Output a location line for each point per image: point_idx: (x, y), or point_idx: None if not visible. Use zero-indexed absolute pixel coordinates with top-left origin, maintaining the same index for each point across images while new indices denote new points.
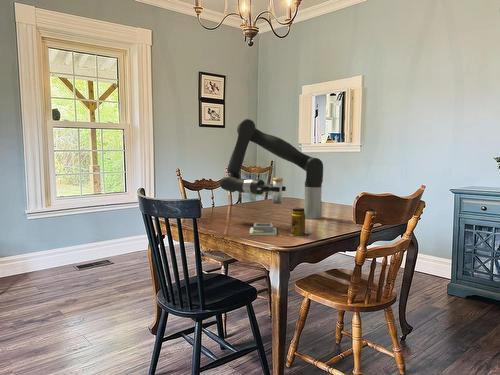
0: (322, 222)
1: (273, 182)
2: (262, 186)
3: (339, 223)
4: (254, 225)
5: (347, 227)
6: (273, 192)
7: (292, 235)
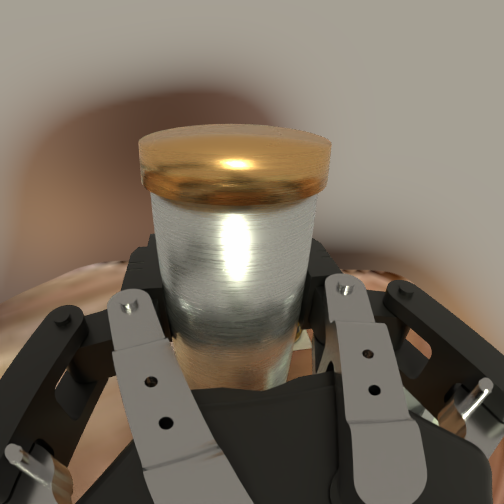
0: (3, 368)
1: (313, 219)
2: (476, 335)
3: (7, 322)
4: (430, 415)
5: (60, 289)
6: (293, 344)
7: (301, 333)
